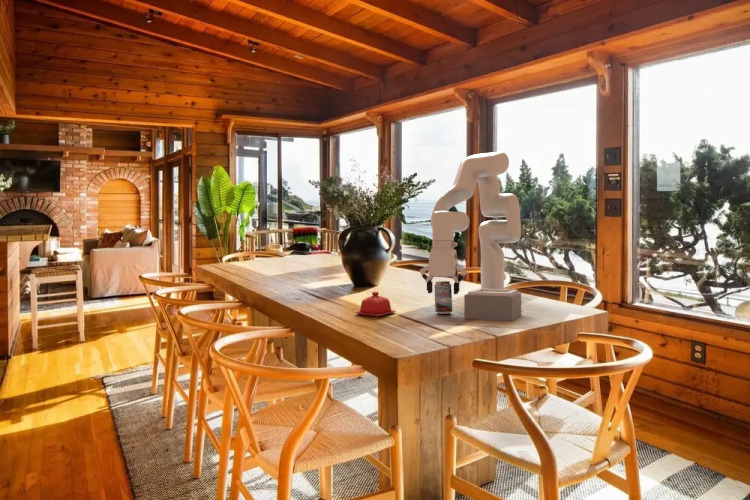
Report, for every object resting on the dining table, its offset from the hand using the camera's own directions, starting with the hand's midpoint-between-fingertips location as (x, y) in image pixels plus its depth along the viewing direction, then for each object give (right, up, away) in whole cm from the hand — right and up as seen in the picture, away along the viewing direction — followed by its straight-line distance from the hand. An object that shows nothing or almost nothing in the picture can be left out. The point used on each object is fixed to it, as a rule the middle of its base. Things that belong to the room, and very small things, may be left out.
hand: (442, 293), depth 196 cm
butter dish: (-24, -8, +1) cm, 25 cm away
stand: (+17, -8, -7) cm, 20 cm away
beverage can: (0, -8, 0) cm, 8 cm away
